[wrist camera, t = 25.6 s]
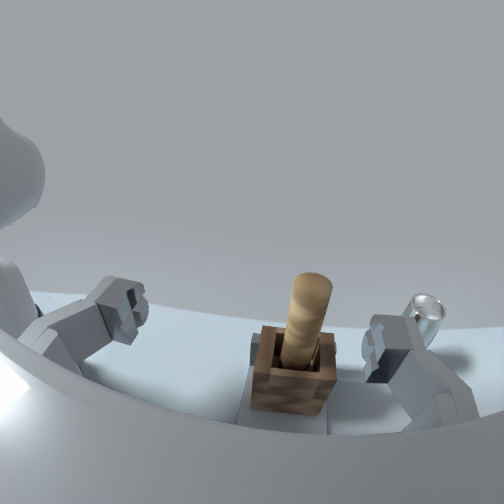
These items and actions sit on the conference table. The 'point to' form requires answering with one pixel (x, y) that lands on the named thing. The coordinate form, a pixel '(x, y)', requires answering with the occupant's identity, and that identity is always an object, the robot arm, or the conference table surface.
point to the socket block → (292, 376)
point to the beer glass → (426, 315)
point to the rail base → (276, 419)
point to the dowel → (304, 320)
